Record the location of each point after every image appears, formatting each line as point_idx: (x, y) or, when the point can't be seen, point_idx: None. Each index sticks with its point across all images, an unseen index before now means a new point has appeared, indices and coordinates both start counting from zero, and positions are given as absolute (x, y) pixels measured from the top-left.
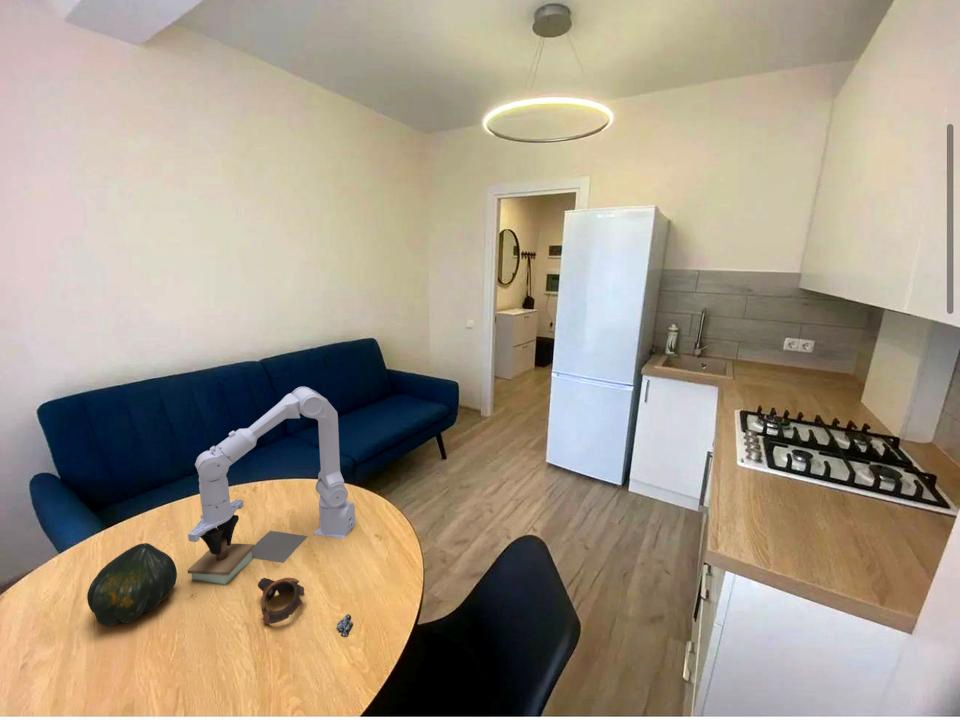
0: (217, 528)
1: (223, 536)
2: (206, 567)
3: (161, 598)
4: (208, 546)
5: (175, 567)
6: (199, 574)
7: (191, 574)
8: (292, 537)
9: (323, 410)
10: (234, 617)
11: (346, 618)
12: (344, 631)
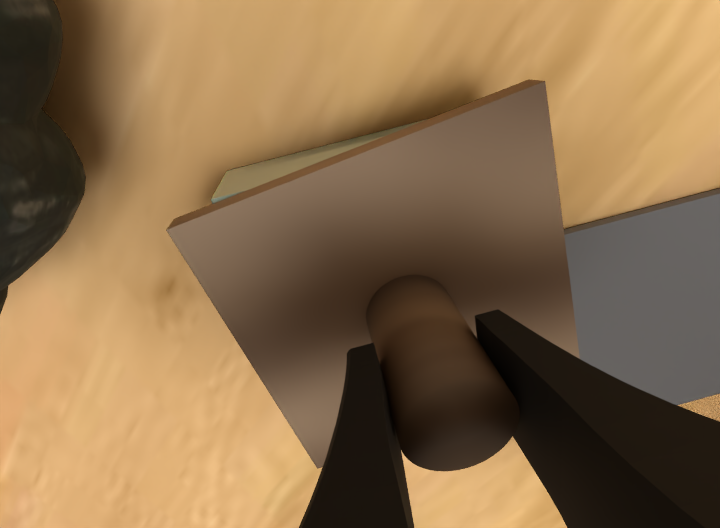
0: (603, 441)
1: (530, 410)
2: (275, 325)
3: None
4: (342, 415)
5: (5, 279)
6: None
7: (217, 187)
8: (709, 343)
9: None
10: (217, 524)
11: None
12: None
